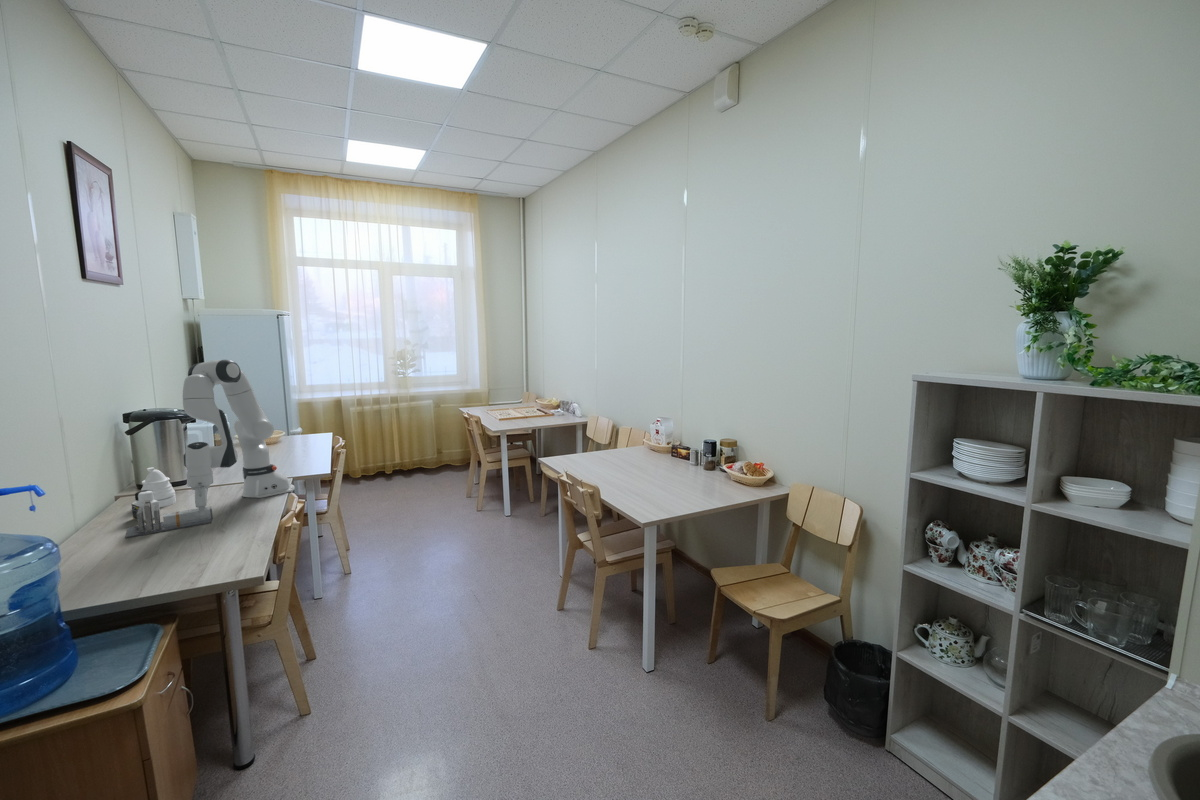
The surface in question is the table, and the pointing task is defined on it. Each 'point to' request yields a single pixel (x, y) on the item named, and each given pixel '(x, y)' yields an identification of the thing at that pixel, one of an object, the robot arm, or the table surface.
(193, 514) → the orange-striped grey block
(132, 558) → the table surface
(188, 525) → the rail
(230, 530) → the table surface
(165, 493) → the honey pot
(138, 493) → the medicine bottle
